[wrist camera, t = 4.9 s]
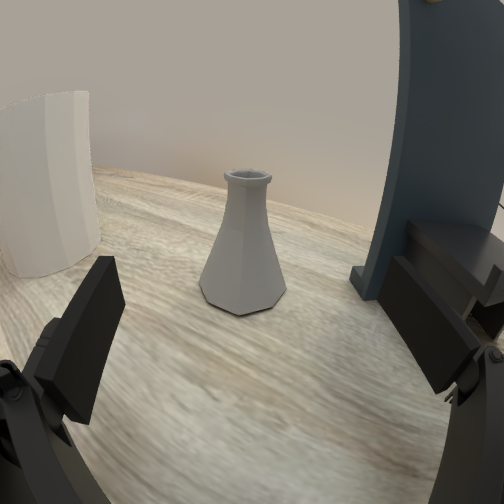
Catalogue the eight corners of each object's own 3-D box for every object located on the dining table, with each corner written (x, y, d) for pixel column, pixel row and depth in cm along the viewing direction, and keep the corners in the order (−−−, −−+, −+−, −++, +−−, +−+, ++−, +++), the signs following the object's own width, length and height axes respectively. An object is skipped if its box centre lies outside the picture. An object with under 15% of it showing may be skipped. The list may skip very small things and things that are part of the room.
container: (80, 215, 36) (70, 102, 28) (121, 243, 29) (110, 85, 21) (2, 249, 26) (-19, 125, 17) (15, 295, 19) (-24, 113, 10)
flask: (237, 330, 19) (242, 194, 14) (184, 283, 24) (178, 170, 19) (300, 292, 24) (319, 179, 19) (245, 258, 28) (251, 160, 23)
